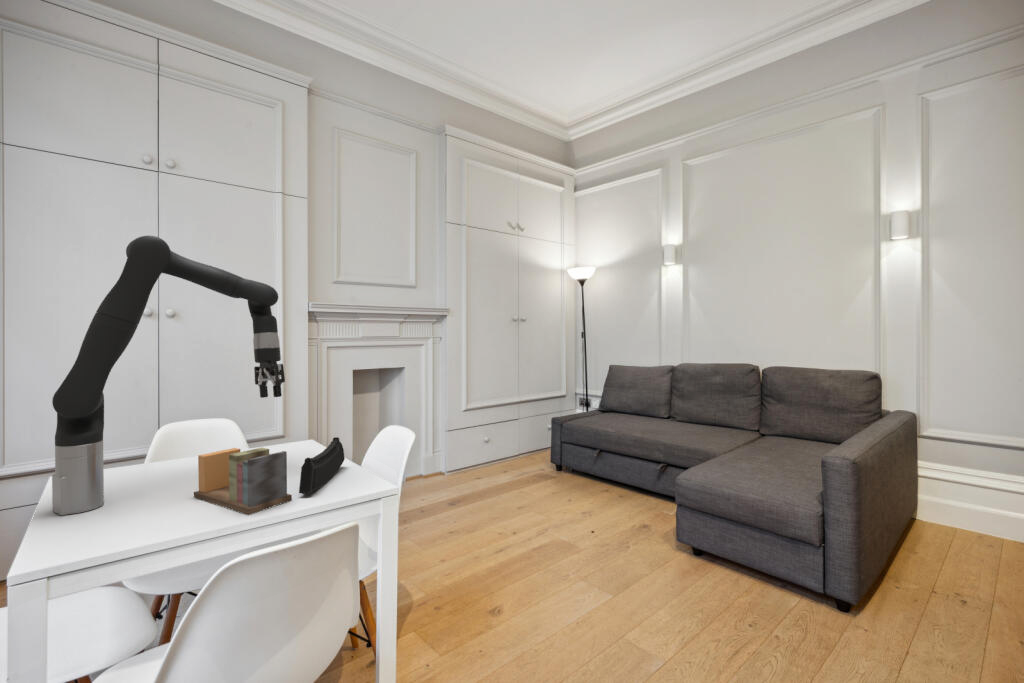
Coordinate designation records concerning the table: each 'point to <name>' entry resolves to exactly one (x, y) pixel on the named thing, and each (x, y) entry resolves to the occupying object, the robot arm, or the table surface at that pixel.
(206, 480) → the loose bookend
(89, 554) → the table surface
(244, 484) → the book row
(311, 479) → the magazine
